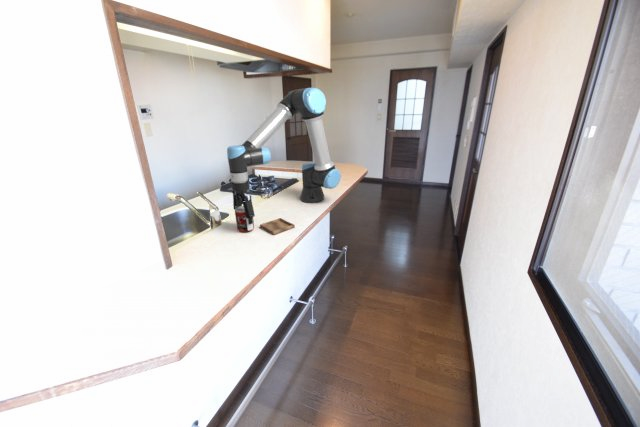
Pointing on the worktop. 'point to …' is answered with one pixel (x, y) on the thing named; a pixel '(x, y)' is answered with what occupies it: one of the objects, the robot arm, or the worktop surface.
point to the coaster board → (277, 226)
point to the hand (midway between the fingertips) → (245, 226)
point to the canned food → (241, 220)
